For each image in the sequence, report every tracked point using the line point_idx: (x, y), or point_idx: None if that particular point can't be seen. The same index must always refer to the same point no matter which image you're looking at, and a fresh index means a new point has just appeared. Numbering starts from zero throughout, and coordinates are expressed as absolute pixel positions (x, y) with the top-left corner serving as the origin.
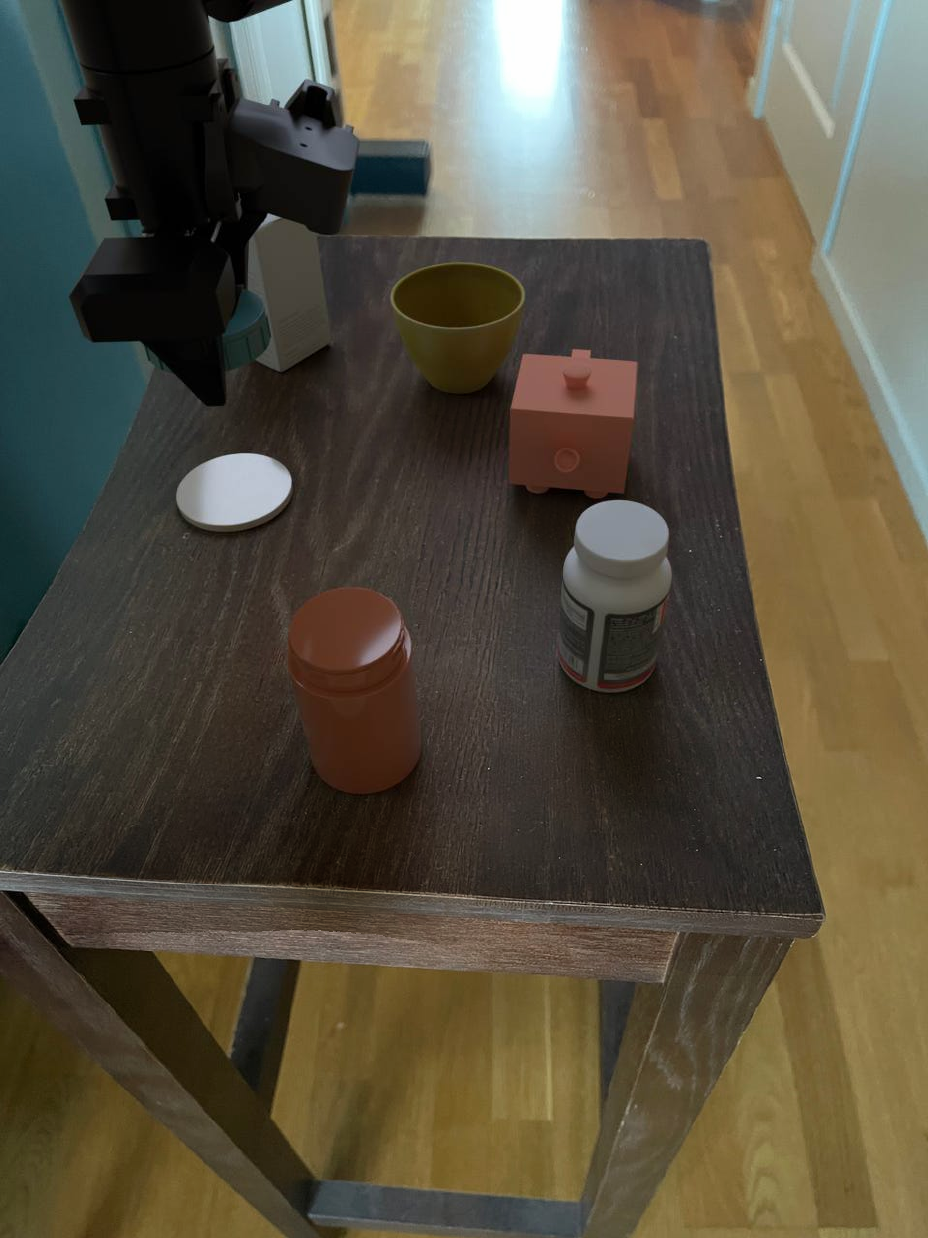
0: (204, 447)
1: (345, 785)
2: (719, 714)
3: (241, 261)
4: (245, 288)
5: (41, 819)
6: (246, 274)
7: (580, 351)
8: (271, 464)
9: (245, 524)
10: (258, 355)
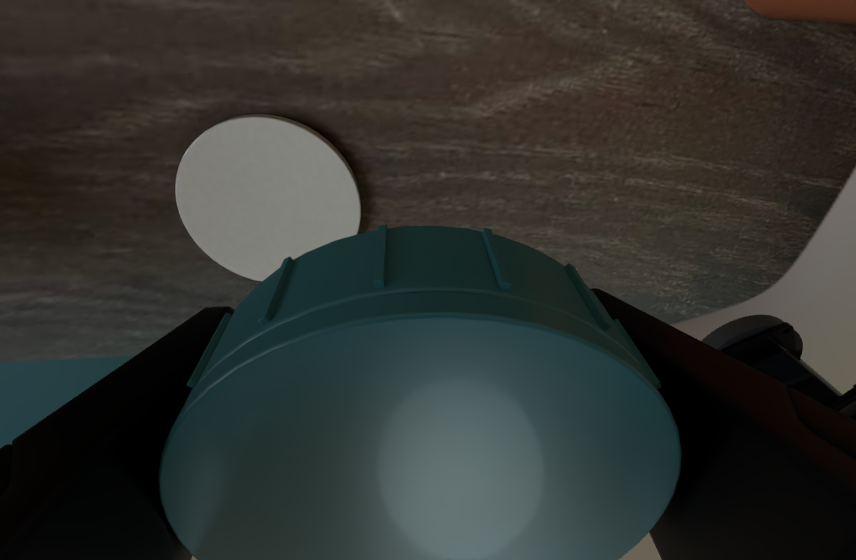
0: (167, 269)
1: None
2: None
3: (22, 555)
4: (125, 416)
5: (742, 284)
6: (44, 459)
7: None
8: (199, 160)
9: (353, 177)
10: (533, 250)
